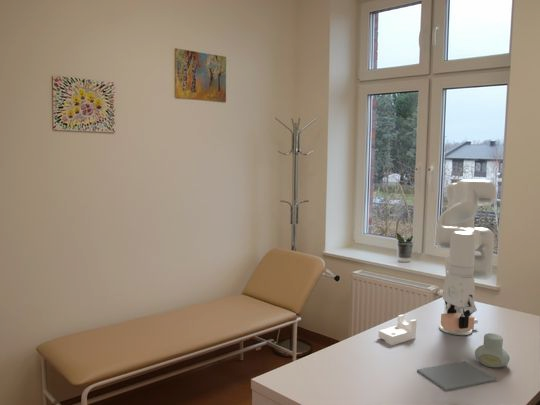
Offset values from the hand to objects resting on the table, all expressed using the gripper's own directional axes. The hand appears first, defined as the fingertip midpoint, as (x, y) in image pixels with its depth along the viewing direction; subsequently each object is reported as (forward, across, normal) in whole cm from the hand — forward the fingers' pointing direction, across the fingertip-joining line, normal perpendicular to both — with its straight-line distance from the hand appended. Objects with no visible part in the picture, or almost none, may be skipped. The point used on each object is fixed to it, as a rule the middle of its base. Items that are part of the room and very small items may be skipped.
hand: (457, 324), depth 161 cm
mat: (+17, +1, 0) cm, 17 cm away
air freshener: (+18, -3, +18) cm, 26 cm away
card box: (+1, 0, 0) cm, 1 cm away
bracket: (+18, -32, 0) cm, 37 cm away
